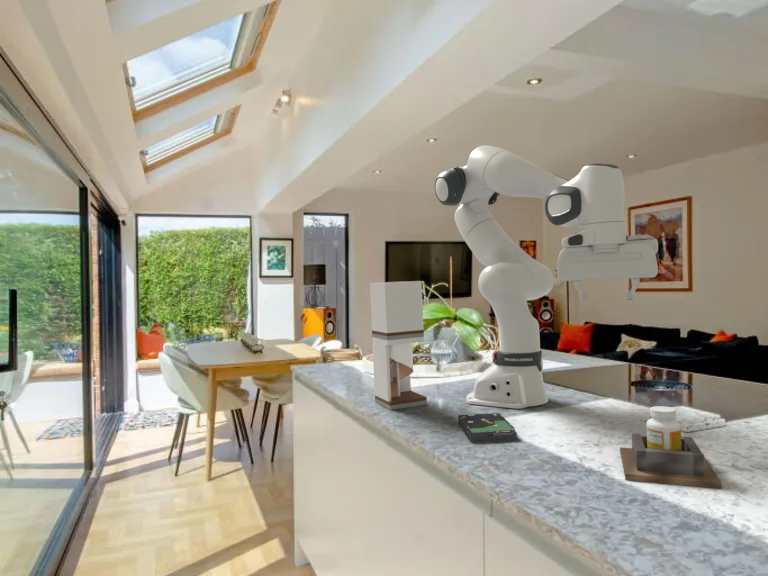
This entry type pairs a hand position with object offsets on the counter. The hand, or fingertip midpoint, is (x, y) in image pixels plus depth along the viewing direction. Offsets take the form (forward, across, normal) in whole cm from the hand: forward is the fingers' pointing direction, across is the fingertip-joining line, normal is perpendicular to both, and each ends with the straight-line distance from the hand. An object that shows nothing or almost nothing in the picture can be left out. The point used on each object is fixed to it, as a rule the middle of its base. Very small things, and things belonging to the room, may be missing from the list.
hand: (606, 300), depth 112 cm
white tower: (+29, +55, -16) cm, 64 cm away
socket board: (+29, -8, +20) cm, 36 cm away
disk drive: (+30, +27, +5) cm, 40 cm away
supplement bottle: (+28, -8, +20) cm, 35 cm away
